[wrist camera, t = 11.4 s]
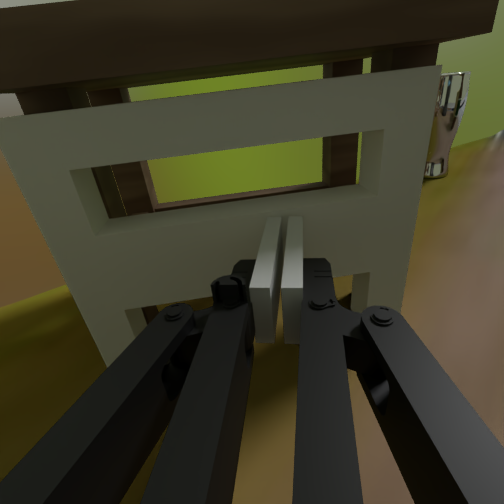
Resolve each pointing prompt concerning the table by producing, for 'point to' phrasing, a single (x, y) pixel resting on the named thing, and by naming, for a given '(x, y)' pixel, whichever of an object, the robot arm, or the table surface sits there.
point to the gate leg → (230, 213)
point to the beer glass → (446, 121)
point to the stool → (213, 62)
